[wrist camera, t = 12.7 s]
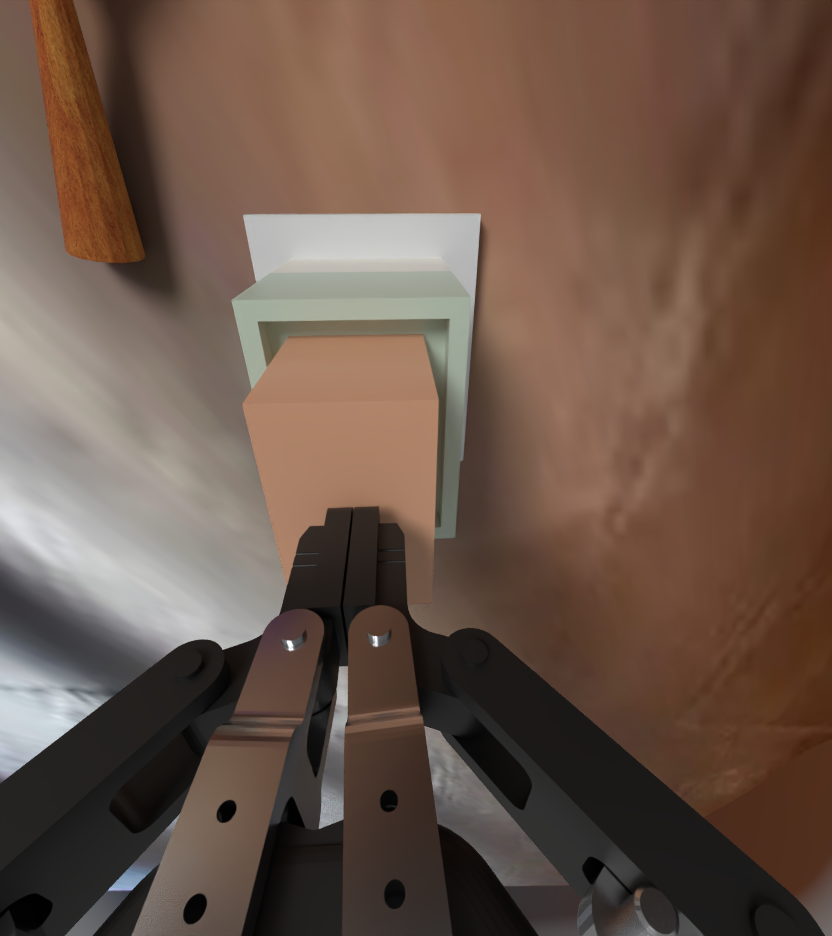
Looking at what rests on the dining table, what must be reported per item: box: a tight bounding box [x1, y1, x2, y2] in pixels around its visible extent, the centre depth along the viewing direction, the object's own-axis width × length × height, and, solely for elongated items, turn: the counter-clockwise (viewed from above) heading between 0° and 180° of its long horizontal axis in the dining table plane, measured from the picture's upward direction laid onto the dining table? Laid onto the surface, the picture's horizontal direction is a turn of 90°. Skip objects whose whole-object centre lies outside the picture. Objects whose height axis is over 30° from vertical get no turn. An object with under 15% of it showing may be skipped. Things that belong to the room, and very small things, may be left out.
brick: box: [242, 334, 439, 604], centre depth 15 cm, size 8×5×6 cm, turn 0°
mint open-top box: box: [232, 213, 481, 539], centre depth 22 cm, size 15×12×11 cm
